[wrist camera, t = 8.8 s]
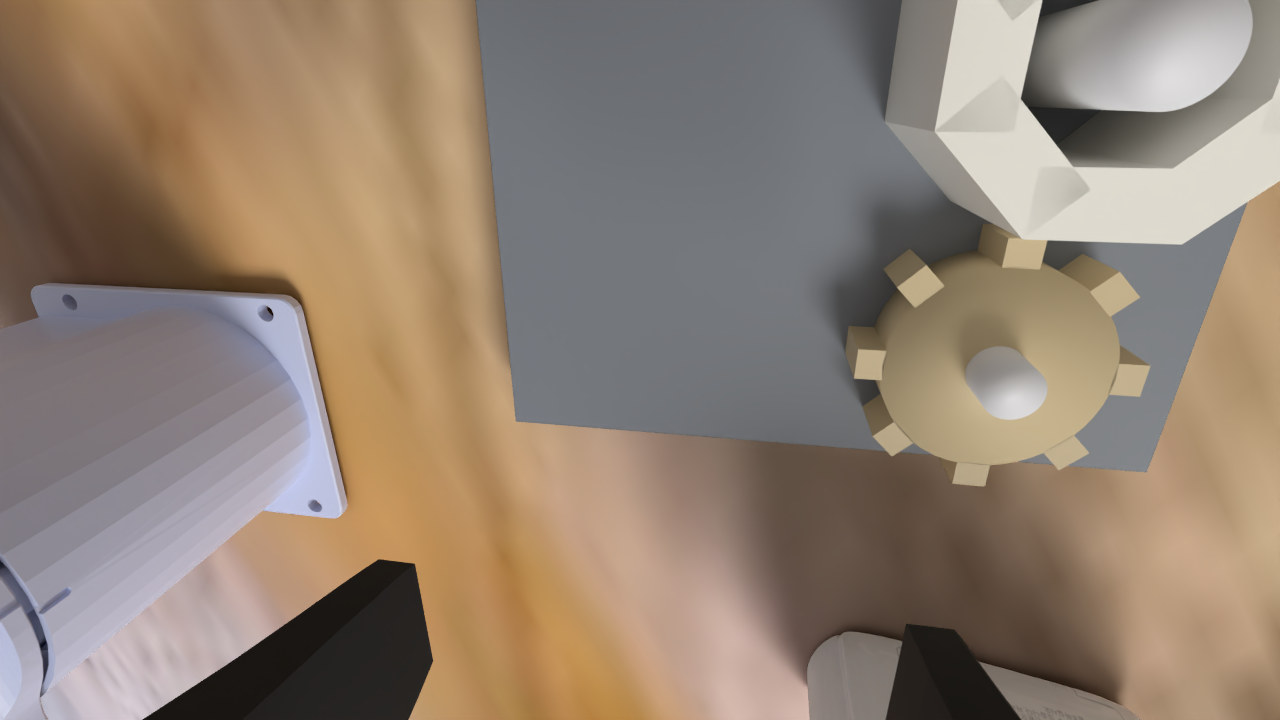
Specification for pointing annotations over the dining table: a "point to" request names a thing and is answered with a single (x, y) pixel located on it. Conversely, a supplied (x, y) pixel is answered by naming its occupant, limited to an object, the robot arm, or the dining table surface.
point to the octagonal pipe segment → (1076, 133)
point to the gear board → (827, 233)
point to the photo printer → (865, 670)
